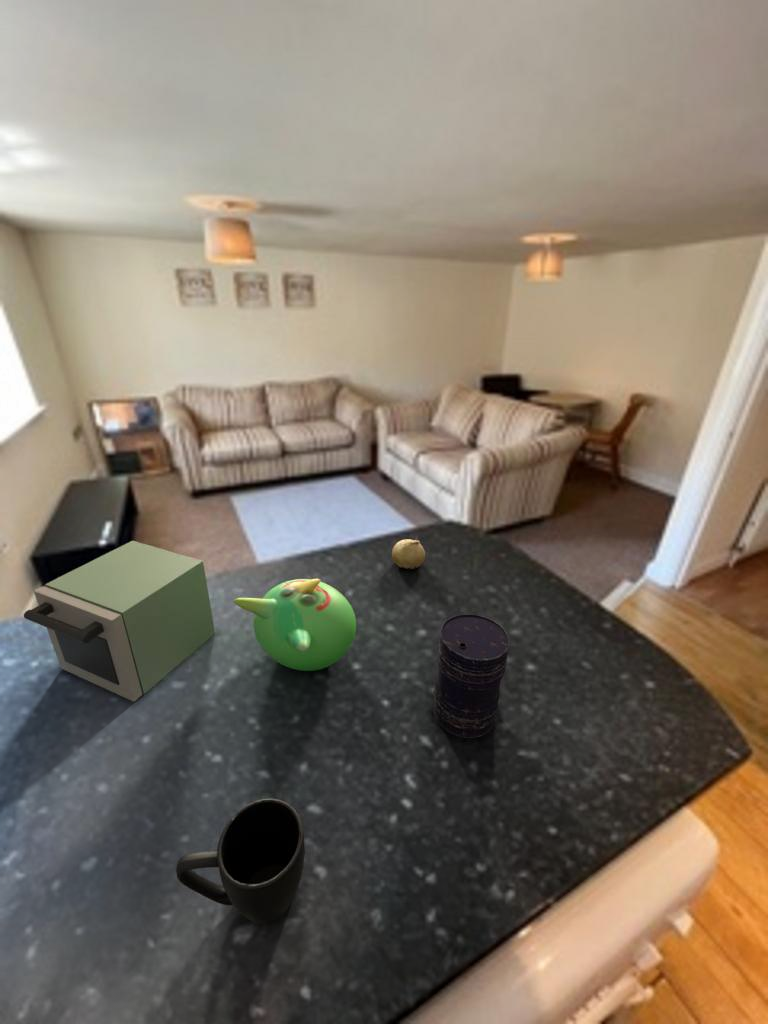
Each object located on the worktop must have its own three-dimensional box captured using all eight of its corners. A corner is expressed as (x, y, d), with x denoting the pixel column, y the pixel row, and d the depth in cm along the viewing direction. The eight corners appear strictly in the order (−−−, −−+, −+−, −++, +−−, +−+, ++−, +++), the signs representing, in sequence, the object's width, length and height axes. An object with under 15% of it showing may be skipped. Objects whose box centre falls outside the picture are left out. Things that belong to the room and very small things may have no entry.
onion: (406, 577, 104) (408, 550, 101) (384, 563, 109) (385, 537, 106) (431, 566, 109) (433, 540, 106) (408, 553, 114) (410, 528, 111)
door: (115, 717, 67) (90, 634, 60) (41, 681, 73) (10, 602, 66) (142, 694, 71) (121, 614, 64) (70, 662, 77) (44, 585, 70)
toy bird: (373, 648, 82) (374, 581, 76) (310, 711, 69) (306, 636, 63) (300, 613, 91) (296, 550, 85) (233, 662, 78) (222, 592, 72)
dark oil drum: (458, 677, 76) (467, 605, 70) (508, 711, 70) (523, 636, 64) (419, 709, 70) (425, 634, 64) (471, 751, 64) (483, 672, 57)
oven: (144, 694, 71) (122, 612, 64) (71, 662, 77) (44, 584, 70) (215, 633, 85) (203, 560, 78) (149, 609, 90) (132, 540, 84)
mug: (197, 864, 50) (183, 811, 46) (306, 843, 52) (302, 791, 48) (182, 960, 43) (164, 907, 39) (309, 932, 45) (304, 879, 41)
